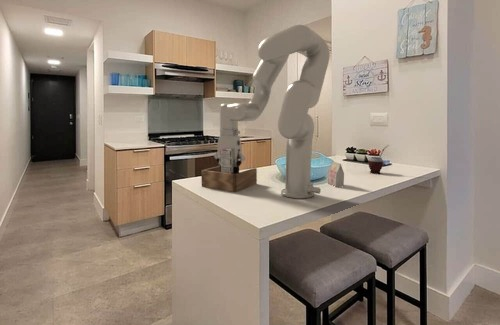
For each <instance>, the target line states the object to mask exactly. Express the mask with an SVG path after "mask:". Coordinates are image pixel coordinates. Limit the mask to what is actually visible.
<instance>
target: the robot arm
mask: <svg viewBox="0 0 500 325" xmlns="http://www.w3.org/2000/svg"><path fill="white" fill-rule="evenodd" d="M295 53H298V54H300V55H302V56H304V57H305V60H304V64H303V66H302V69H301V73H300V76H299V79H297V80H295V81H293V82H292V83H290V85H288V87H287V89H286V90H285V92H284V95H283V100H282V105H281V108H280V112H279V116H278V121H277V128H278V132H279V134H280V136H282V137H283V138H285V139H287V141H286V149H285V150H286V151H285V153H286V154H285V184H284V186H285V188H283V189H282V190H281V191H280V194H281V195H282V196H284V197H286V198H291V199H308V198H312V197H314V196H315V194H320V193H321V188H320V187H319V186H318V187H317V186H314V183H313V182H311V178H312V177H311V176H312V175H311V174H312V173H311V172H312V150H313V149H312V148H313V139H314V131H315V121H314V120H313V117H312V116H311V115H310V114H309V109H311V108H314V107H316V105H317V104H318V103H319V101H320V97H321V93H322V89H323V85H324V82H325V78H326V73H327V70H328V66H329V61H330V56H331V55H330V54H331V53H330V48H329V45H328V43H327V42H326V41H325V39H324V38H323V37H321V36H320V35H319V34H318V33H317V32H316V31H314V30H312V29H311V28H310V27H308V26H307V25H305V24H295V25H293V26H290V27H287V28H285V29H283V30H280V31H278V32H275V33H273V34H271V35H269V36H267V37H265V38H264V39H262V41H261V42H260V43H259V45H258V49H257V54H258V55H257V56H258V57H259V59H260V62H259V63H258V65H257V67H256V69H255V70H254V72H253V74H252V80H253V82H254V86H255V87H254V88H255V89H254V92H253V95H252V97H251V99H250V101H249V102H237V103H233V102H231V103H230V102H229V103H228V102H227V103H226V102H225V103H224V102H223V103H221V104H220V105H219V136H218V140H217V152H215V154H213V157H214V159H215V160H216V161H217V163H218V166H220V172H221V163H220V150H221V149H232V151H233V163H234V166H235V167H233V174H236V173H240V166H241V165H242V164H243V162H244V161H246V157H245V156H244V155H243V151H242V150H243V149H242V142H241V137H240V136H239V135H240V134H241V131H240V130H239V122H253V121H256V120H257V119H258V118H259V117H260V116H261V115H262V113H263V112H264V110H265V109H266V107H267V104H268V103H269V100H270V96H271V93H272V87H273V85H274V83H275V82H276V80H277V78H278V76H279V75H280V73H281V71H282V70H283V68H284V66H286V65H285V64H286V63H287V61H288V59H289V56H290V55H292V54H295Z"/></svg>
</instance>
